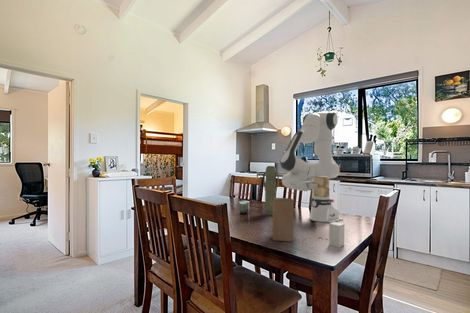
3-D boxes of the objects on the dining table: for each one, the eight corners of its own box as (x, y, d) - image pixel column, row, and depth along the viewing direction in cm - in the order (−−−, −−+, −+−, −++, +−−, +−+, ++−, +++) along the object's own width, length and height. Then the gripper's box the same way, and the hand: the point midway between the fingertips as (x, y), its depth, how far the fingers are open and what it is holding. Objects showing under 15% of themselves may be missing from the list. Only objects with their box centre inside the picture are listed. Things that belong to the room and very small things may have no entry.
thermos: (263, 212, 190) (264, 165, 190) (279, 213, 186) (279, 166, 186) (260, 214, 182) (261, 166, 182) (277, 216, 178) (277, 166, 178)
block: (293, 242, 123) (293, 201, 123) (272, 241, 125) (272, 200, 125) (292, 236, 133) (293, 198, 133) (273, 235, 135) (273, 197, 135)
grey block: (334, 242, 124) (334, 221, 124) (344, 244, 120) (344, 223, 120) (329, 244, 121) (329, 223, 121) (339, 247, 117) (339, 225, 117)
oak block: (321, 195, 130) (321, 176, 130) (329, 196, 126) (329, 176, 126) (314, 196, 128) (314, 176, 128) (321, 197, 124) (321, 177, 124)
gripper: (288, 177, 134) (306, 180, 122) (317, 176, 143) (337, 178, 131) (288, 189, 134) (306, 193, 122) (317, 187, 143) (337, 190, 131)
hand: (322, 185), depth 126 cm, fingers closed on oak block, 5 cm apart
